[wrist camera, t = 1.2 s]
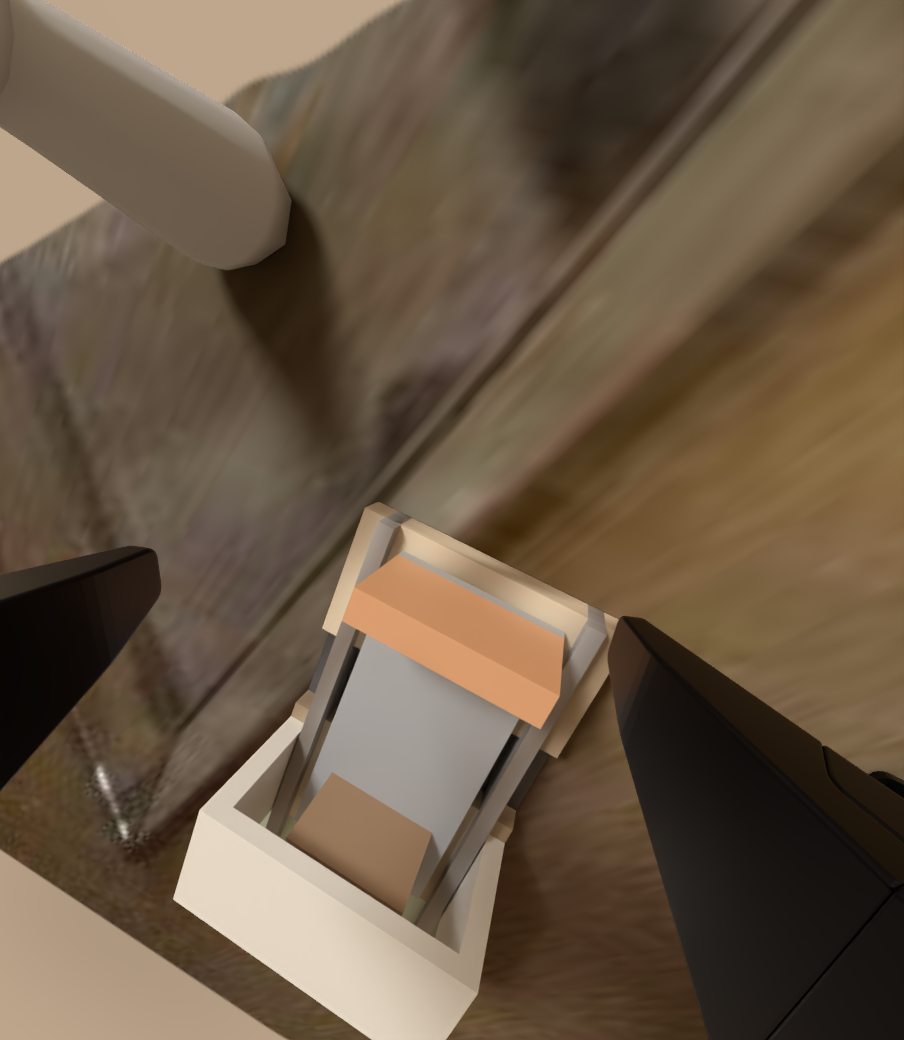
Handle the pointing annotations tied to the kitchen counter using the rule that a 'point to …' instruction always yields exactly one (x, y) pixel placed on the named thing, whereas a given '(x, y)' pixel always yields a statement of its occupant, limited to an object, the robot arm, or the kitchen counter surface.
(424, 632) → the sled
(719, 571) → the kitchen counter surface
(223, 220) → the salt shaker
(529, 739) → the track deck
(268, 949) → the tunnel
